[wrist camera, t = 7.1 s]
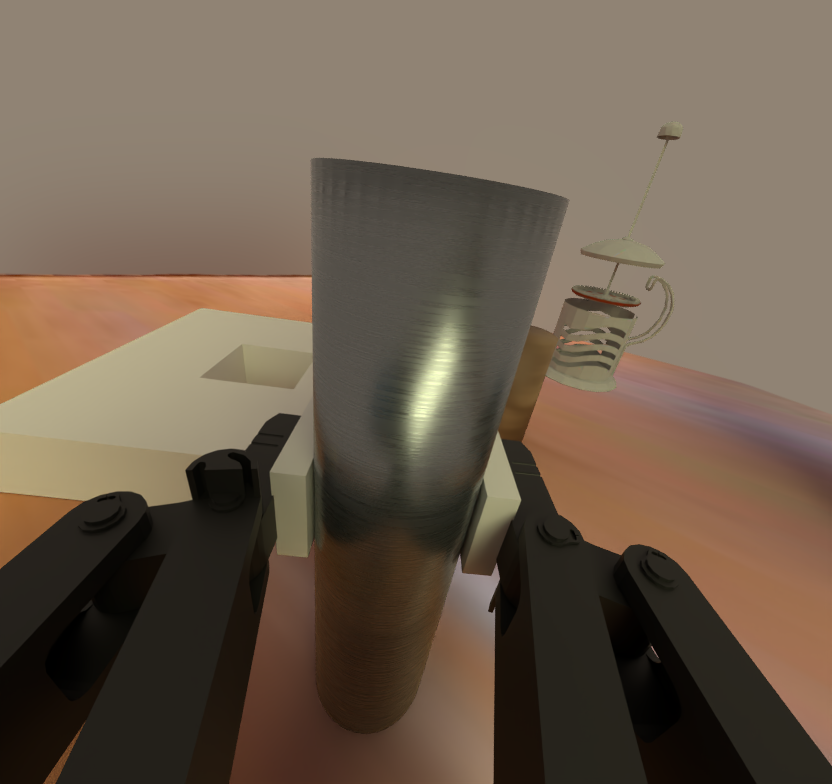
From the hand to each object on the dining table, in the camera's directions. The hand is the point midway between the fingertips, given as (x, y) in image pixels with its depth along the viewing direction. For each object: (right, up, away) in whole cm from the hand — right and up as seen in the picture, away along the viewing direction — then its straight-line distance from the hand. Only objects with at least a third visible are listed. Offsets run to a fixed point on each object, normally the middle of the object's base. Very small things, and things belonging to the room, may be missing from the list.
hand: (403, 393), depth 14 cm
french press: (+21, +2, +29) cm, 36 cm away
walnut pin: (+7, -4, +14) cm, 16 cm away
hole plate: (-11, -1, +13) cm, 17 cm away
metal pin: (-1, -10, 0) cm, 10 cm away
